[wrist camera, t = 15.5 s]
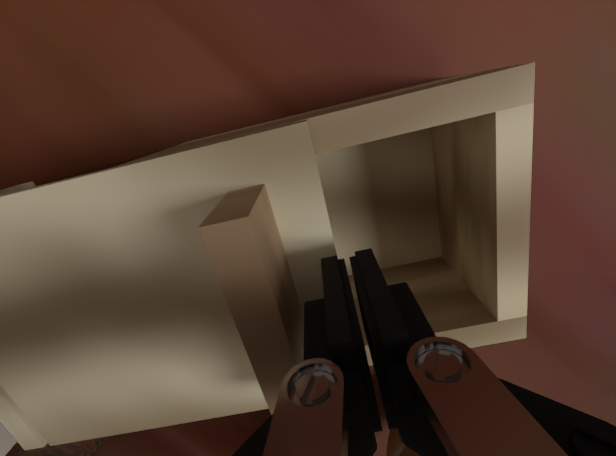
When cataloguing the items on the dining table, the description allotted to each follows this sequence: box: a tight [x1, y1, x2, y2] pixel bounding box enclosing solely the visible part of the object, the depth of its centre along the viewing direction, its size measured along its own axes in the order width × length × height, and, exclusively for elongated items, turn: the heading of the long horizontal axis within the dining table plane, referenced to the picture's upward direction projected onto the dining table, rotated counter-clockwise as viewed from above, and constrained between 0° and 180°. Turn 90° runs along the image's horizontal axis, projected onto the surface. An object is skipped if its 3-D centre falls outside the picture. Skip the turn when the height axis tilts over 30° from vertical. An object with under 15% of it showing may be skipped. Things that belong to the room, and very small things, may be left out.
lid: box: [0, 119, 338, 450], centre depth 14 cm, size 11×16×10 cm
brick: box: [6, 436, 109, 456], centre depth 23 cm, size 11×4×5 cm, turn 134°
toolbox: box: [118, 62, 535, 366], centre depth 16 cm, size 11×14×7 cm
